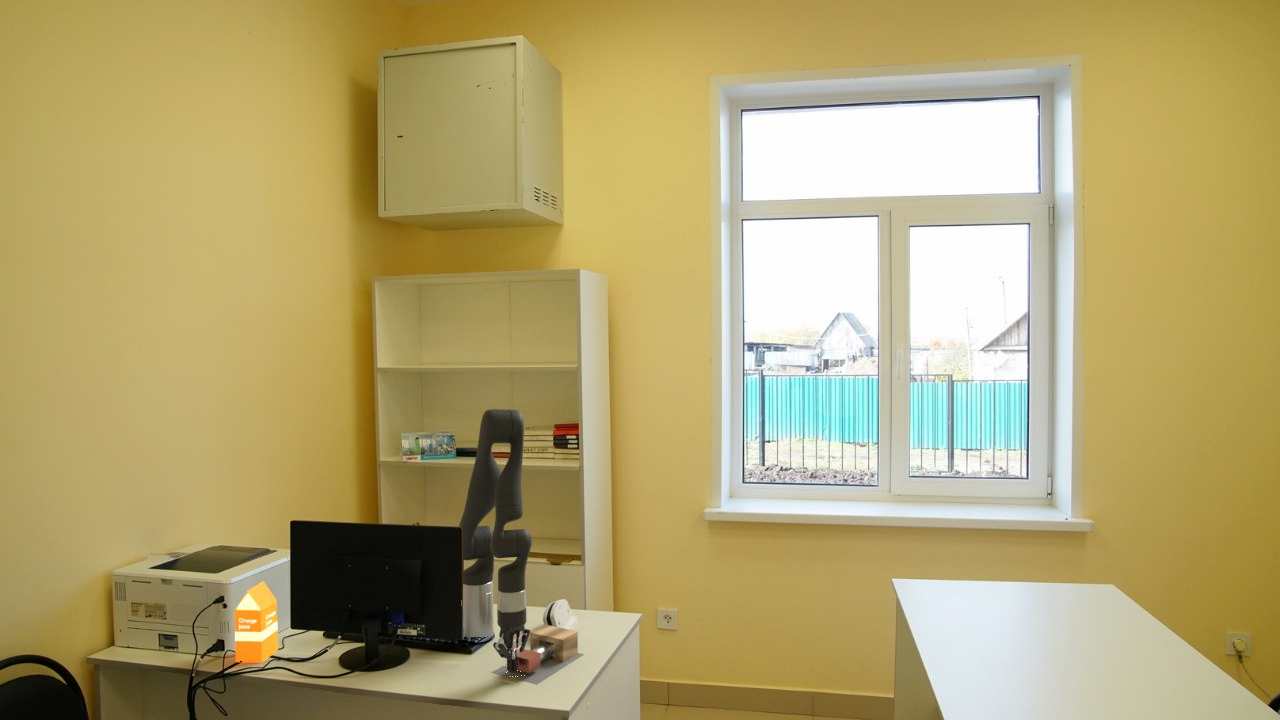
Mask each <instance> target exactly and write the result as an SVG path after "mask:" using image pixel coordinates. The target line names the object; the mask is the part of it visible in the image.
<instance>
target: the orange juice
mask: <svg viewBox="0 0 1280 720" xmlns="http://www.w3.org/2000/svg"><path fill="white" fill-rule="evenodd" d="M246 591H247V592H246V593H245V595H243V598H241V600H240V602H239V603H238V605H237V606H236V608H235V609H234V642H235V663H259V664H260V663H261V664H262V663H263V662H265V661H266V660H267V659H268V658H270V657H271V656H273V655H274V654H275V653H276V652H278V651H279V644H278V643H279V642H278V641H279V640H278V639H279V638H278V635H279V633H278V605H277V604H278V600H277V599H276V596H274V595H273V593H272V592H271V589H269V587H268V586H267V584H266V583H265V581H261V582H259V583H258V584H256V585H254V586H253V587H252V588H250V589H248V590H246ZM240 661H242V662H240Z"/></svg>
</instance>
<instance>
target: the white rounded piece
mask: <svg viewBox="0 0 1280 720" xmlns="http://www.w3.org/2000/svg"><path fill="white" fill-rule="evenodd" d="M542 622H543V626H544V625H550V626H554V627H559V628H564V629H568V630H573V631H575V628H577V627H578V625H579V624H578V623H580V621H579V619H578V617H577V616H576V615H574V614H573V612H572V609H571V607H570V605H569V601H568V600H567V599H565V598H563V599H557V600H555V601H553V602H551V603H549V604H548V605H547V606H546V608H545V609H544V613H543V617H542ZM577 624H578V625H577Z"/></svg>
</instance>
